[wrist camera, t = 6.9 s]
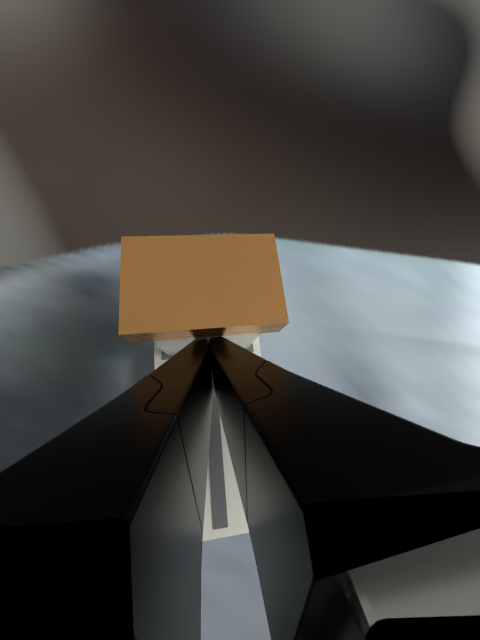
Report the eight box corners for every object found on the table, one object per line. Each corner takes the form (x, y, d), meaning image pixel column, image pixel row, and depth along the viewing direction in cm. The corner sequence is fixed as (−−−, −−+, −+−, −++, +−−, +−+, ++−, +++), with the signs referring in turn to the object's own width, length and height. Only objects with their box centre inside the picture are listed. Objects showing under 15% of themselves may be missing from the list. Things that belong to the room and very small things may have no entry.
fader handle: (253, 354, 14) (288, 322, 8) (162, 362, 13) (118, 334, 7) (246, 302, 15) (274, 233, 8) (161, 307, 14) (121, 236, 8)
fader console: (274, 512, 13) (282, 526, 12) (162, 532, 13) (155, 550, 11) (250, 313, 17) (254, 305, 15) (159, 319, 16) (153, 311, 14)
